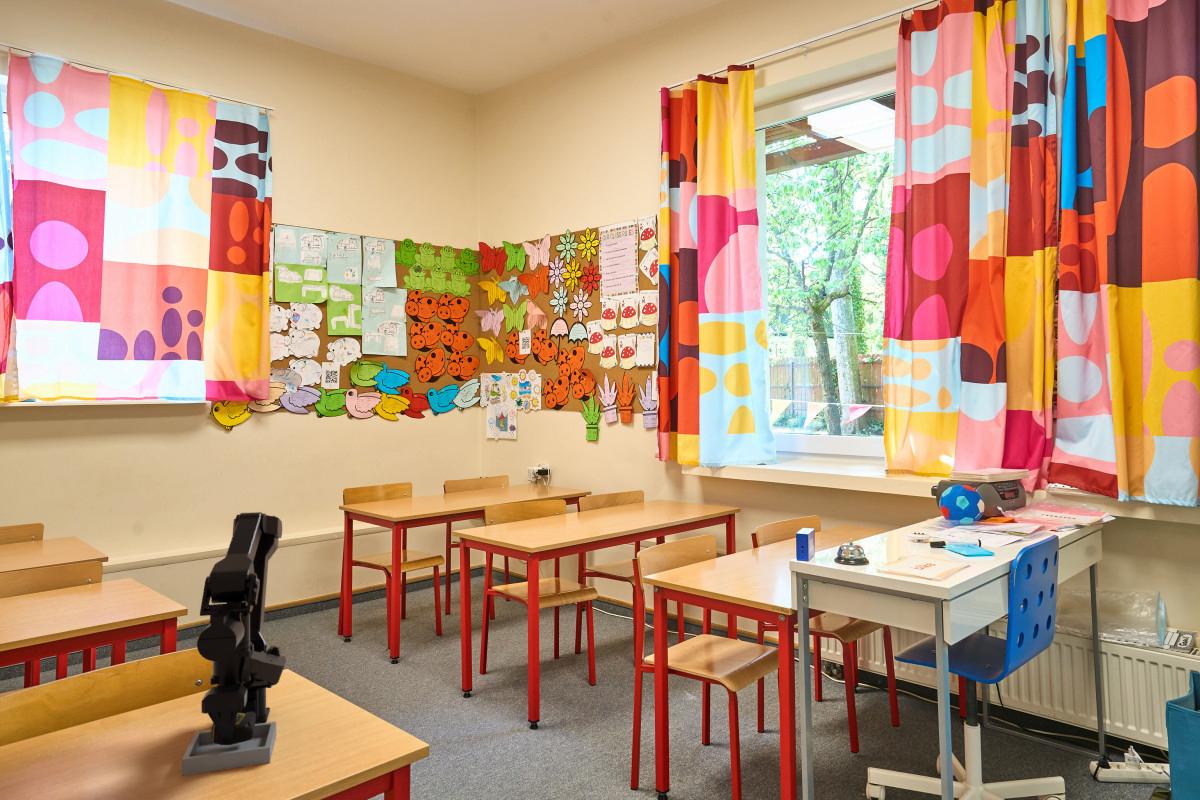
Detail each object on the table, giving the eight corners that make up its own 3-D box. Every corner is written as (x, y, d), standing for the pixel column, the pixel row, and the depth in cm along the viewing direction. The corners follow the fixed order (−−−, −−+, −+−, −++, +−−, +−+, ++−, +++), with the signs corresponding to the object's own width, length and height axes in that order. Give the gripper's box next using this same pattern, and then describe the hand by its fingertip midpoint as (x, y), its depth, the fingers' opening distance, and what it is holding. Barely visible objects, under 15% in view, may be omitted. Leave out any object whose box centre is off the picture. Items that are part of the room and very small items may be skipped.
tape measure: (252, 746, 125) (252, 724, 125) (207, 752, 123) (207, 729, 123) (258, 729, 131) (258, 708, 131) (215, 735, 129) (215, 713, 129)
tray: (195, 746, 130) (195, 731, 130) (276, 735, 134) (276, 721, 134) (181, 775, 119) (181, 759, 119) (269, 762, 123) (269, 747, 123)
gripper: (277, 653, 121) (277, 750, 120) (287, 622, 138) (287, 706, 138) (200, 661, 117) (200, 761, 117) (220, 628, 135) (221, 714, 135)
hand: (231, 733), depth 127 cm, fingers closed on tape measure, 7 cm apart
